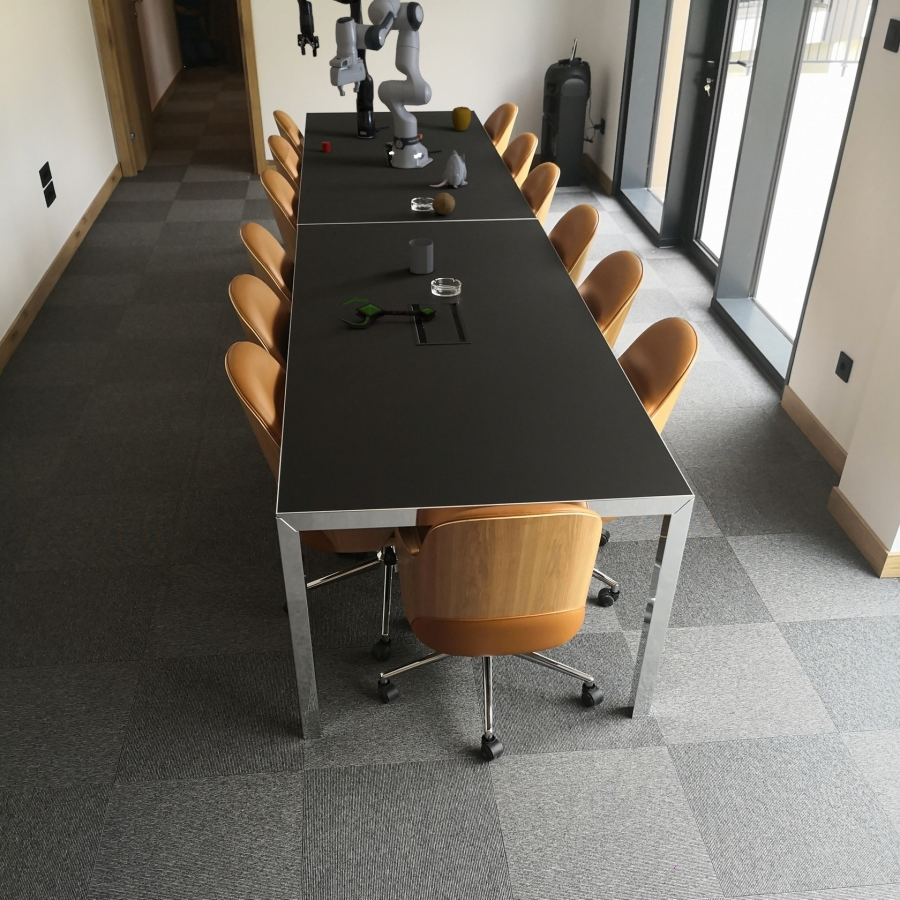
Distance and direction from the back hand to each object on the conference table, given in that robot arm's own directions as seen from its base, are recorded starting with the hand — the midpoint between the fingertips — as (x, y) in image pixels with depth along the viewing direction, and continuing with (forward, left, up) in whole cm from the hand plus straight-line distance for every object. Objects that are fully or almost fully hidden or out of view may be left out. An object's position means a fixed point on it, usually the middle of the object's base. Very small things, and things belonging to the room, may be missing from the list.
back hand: (309, 56), depth 472 cm
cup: (+156, +168, -38) cm, 232 cm away
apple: (-40, +73, -38) cm, 92 cm away
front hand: (+80, +84, +1) cm, 116 cm away
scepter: (+198, +182, -39) cm, 271 cm away
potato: (+96, +141, -39) cm, 175 cm away
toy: (+63, +124, -38) cm, 144 cm away
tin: (+36, +35, -39) cm, 64 cm away
